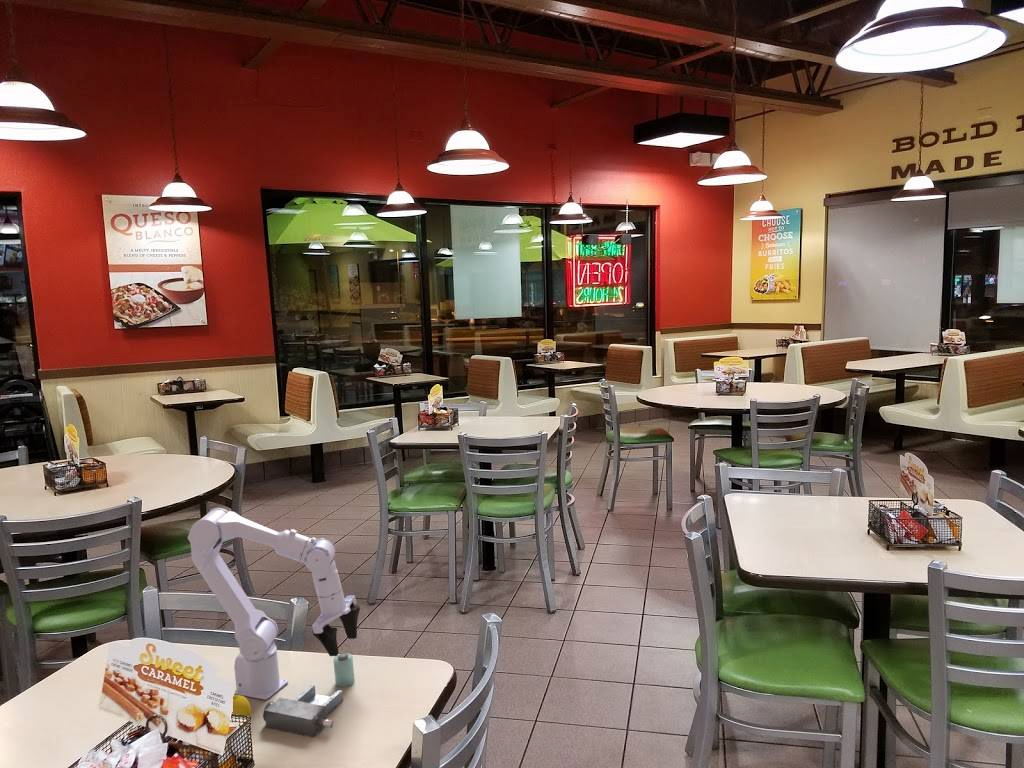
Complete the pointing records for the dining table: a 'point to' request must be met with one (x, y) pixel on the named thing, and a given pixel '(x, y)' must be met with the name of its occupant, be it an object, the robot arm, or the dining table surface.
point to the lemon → (241, 706)
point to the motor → (302, 712)
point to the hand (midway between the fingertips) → (343, 646)
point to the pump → (344, 670)
